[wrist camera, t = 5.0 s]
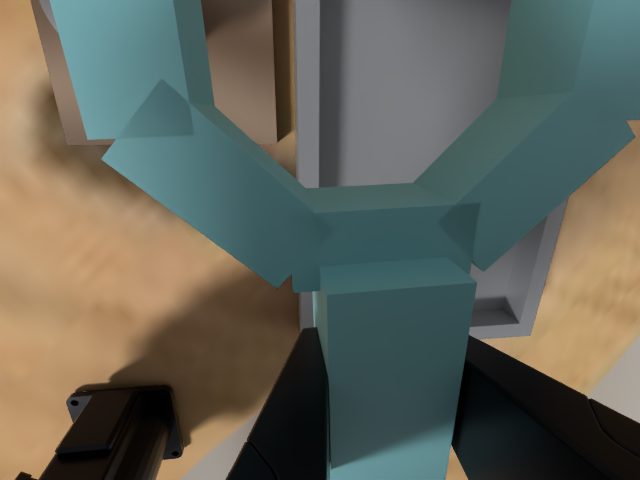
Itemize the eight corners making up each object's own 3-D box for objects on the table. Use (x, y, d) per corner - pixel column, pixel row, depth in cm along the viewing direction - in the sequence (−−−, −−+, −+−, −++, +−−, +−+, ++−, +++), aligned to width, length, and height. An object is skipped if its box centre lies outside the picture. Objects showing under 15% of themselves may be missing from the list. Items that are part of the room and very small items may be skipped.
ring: (501, 371, 10) (585, 469, 7) (200, 405, 9) (165, 531, 6) (644, -296, 5) (1060, -765, 2) (37, -356, 4) (-395, -1194, 2)
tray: (505, 314, 24) (530, 335, 21) (299, 327, 22) (301, 352, 20) (585, -21, 17) (635, -43, 14) (292, -38, 15) (294, -67, 13)
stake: (277, 142, 18) (276, 152, 13) (79, 143, 17) (-10, 154, 12) (268, -96, 14) (262, -215, 9) (16, -116, 13) (-151, -265, 8)
